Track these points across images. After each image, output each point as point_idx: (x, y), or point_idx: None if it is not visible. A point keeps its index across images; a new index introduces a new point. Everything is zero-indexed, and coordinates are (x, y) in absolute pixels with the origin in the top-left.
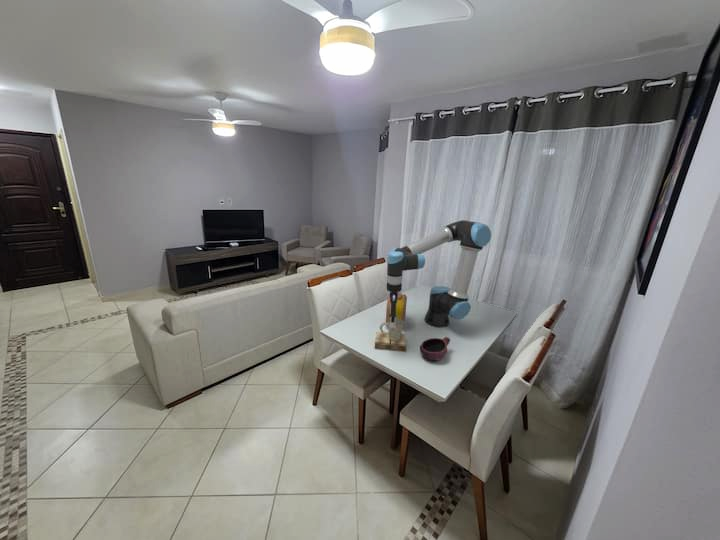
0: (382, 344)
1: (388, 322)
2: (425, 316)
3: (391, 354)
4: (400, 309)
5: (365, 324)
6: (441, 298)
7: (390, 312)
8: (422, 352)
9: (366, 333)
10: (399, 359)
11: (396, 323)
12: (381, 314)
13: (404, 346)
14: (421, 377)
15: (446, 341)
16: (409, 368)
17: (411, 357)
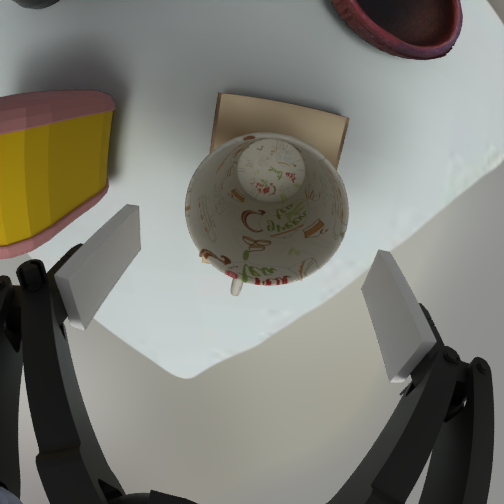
0: None
1: (281, 283)
2: (34, 2)
3: (357, 193)
4: (33, 144)
5: None
6: None
7: (129, 261)
8: (422, 58)
9: (174, 276)
10: (398, 166)
11: (211, 179)
12: None
13: (346, 126)
14: (494, 125)
15: None
16: (454, 146)
17: (389, 103)
